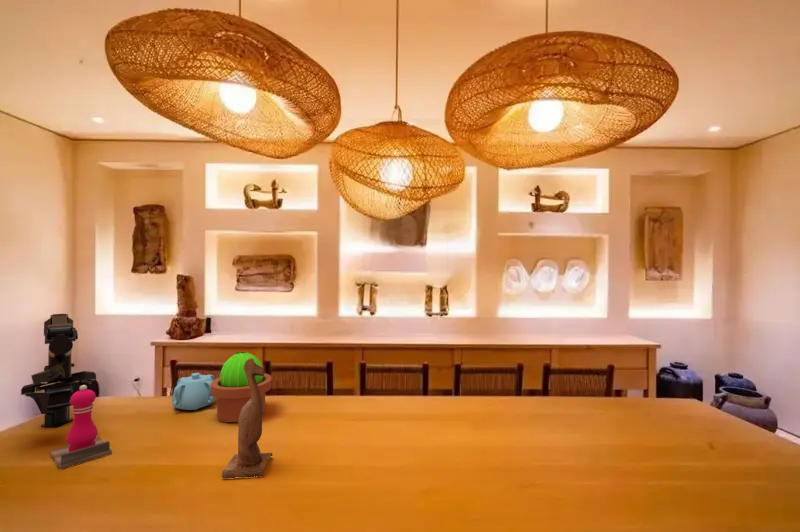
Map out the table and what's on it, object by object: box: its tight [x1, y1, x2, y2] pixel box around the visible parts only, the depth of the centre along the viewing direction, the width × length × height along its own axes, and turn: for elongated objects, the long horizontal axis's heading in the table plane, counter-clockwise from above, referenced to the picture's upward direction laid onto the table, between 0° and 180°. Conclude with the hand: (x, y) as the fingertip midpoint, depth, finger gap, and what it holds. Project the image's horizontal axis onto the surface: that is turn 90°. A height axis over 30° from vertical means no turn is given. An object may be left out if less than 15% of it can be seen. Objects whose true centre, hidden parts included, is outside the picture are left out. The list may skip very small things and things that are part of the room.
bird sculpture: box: [221, 358, 274, 479], centre depth 107 cm, size 11×12×32 cm
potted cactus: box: [211, 351, 272, 423], centre depth 146 cm, size 22×22×25 cm
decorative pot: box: [171, 372, 217, 411], centre depth 154 cm, size 16×16×14 cm
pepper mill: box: [66, 385, 99, 452], centre depth 113 cm, size 7×7×20 cm
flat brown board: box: [49, 436, 113, 470], centre depth 114 cm, size 14×12×4 cm
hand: (59, 410), depth 119 cm, fingers open, 9 cm apart
